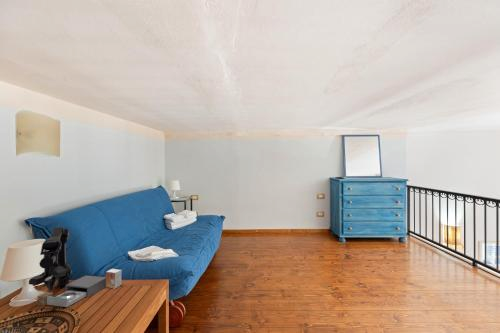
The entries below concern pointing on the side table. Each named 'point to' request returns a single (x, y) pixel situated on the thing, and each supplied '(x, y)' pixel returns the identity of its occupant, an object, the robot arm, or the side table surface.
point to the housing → (88, 284)
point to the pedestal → (43, 298)
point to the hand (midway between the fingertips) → (50, 290)
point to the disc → (69, 295)
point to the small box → (113, 278)
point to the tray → (65, 299)
